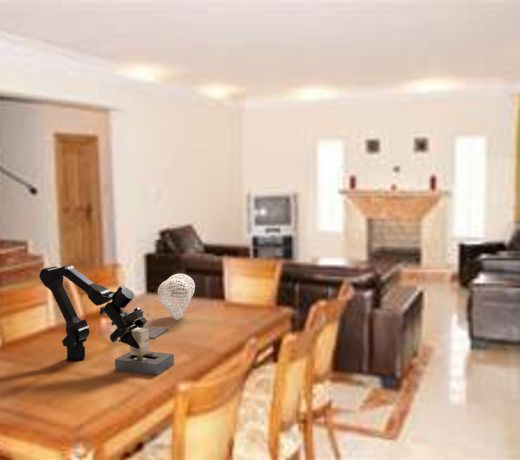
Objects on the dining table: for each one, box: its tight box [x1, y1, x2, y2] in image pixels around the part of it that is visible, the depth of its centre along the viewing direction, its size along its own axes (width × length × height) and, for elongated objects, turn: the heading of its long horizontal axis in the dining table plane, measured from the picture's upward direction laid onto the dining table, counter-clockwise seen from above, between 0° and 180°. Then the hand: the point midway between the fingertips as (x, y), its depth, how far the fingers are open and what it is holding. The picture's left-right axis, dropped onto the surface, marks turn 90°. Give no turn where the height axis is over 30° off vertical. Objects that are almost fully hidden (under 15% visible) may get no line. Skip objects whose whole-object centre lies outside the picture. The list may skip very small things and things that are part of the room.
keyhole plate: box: [114, 350, 175, 376], centre depth 225 cm, size 18×13×4 cm
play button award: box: [143, 325, 170, 340], centre depth 274 cm, size 16×2×20 cm
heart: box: [157, 273, 196, 321], centre depth 297 cm, size 28×16×22 cm, turn 175°
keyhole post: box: [129, 328, 150, 360], centre depth 225 cm, size 6×6×13 cm
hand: (142, 346), depth 225 cm, fingers closed on keyhole post, 5 cm apart
